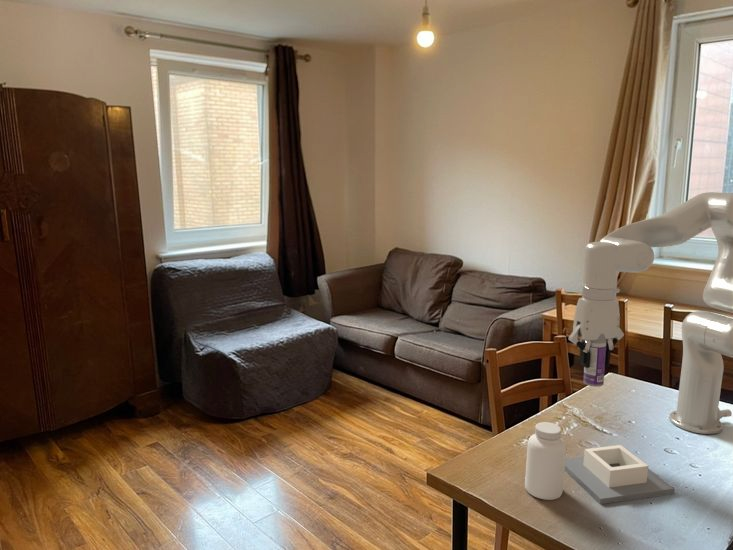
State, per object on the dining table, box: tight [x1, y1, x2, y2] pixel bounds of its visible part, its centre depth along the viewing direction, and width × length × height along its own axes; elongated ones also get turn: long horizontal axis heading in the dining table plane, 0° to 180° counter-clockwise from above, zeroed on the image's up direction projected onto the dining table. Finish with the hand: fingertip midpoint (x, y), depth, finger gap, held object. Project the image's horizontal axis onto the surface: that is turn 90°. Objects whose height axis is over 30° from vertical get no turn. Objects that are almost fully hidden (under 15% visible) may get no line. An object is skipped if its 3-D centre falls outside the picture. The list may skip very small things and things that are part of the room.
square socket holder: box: [564, 444, 676, 505], centre depth 124 cm, size 18×16×5 cm
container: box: [582, 333, 606, 388], centre depth 134 cm, size 5×5×15 cm
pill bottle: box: [524, 421, 567, 501], centre depth 118 cm, size 8×8×15 cm
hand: (594, 364), depth 135 cm, fingers closed on container, 4 cm apart
